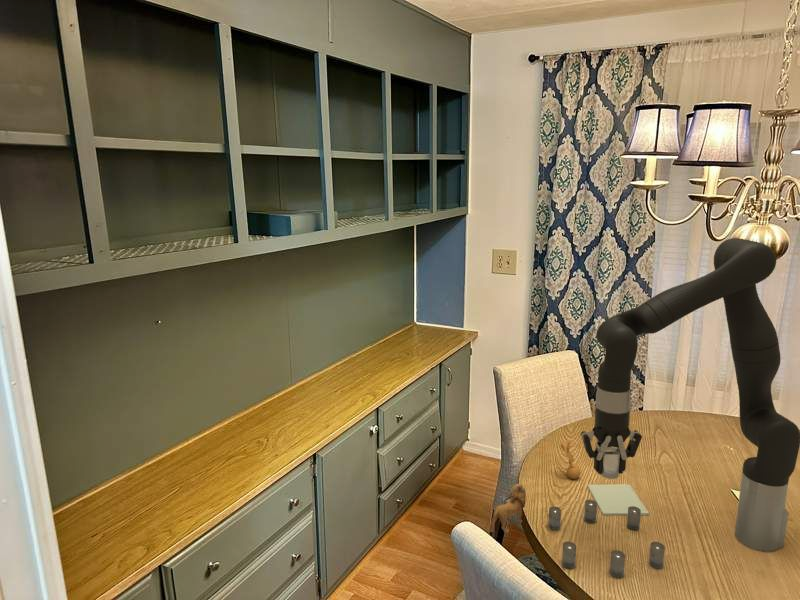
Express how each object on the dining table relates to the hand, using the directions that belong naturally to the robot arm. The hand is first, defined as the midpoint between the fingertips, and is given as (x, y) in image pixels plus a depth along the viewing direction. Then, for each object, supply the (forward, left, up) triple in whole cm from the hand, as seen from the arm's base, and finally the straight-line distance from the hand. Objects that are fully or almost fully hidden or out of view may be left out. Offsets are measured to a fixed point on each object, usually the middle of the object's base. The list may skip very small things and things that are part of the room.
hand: (609, 471), depth 131 cm
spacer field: (+1, +1, -19) cm, 19 cm away
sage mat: (-9, -18, -19) cm, 28 cm away
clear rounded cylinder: (0, 0, -1) cm, 1 cm away
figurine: (+1, -30, -19) cm, 35 cm away
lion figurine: (+23, -7, -19) cm, 31 cm away
